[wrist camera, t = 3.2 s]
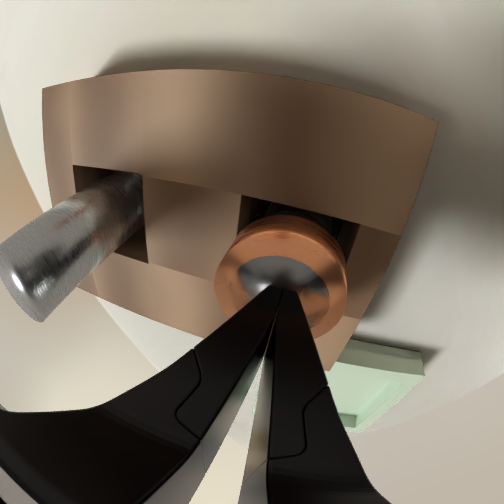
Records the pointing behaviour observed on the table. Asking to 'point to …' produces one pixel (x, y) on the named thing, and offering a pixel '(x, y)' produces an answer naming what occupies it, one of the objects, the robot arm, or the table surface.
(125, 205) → the grey metal peg
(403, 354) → the tray
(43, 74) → the table surface
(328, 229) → the plunger
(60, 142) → the socket block
